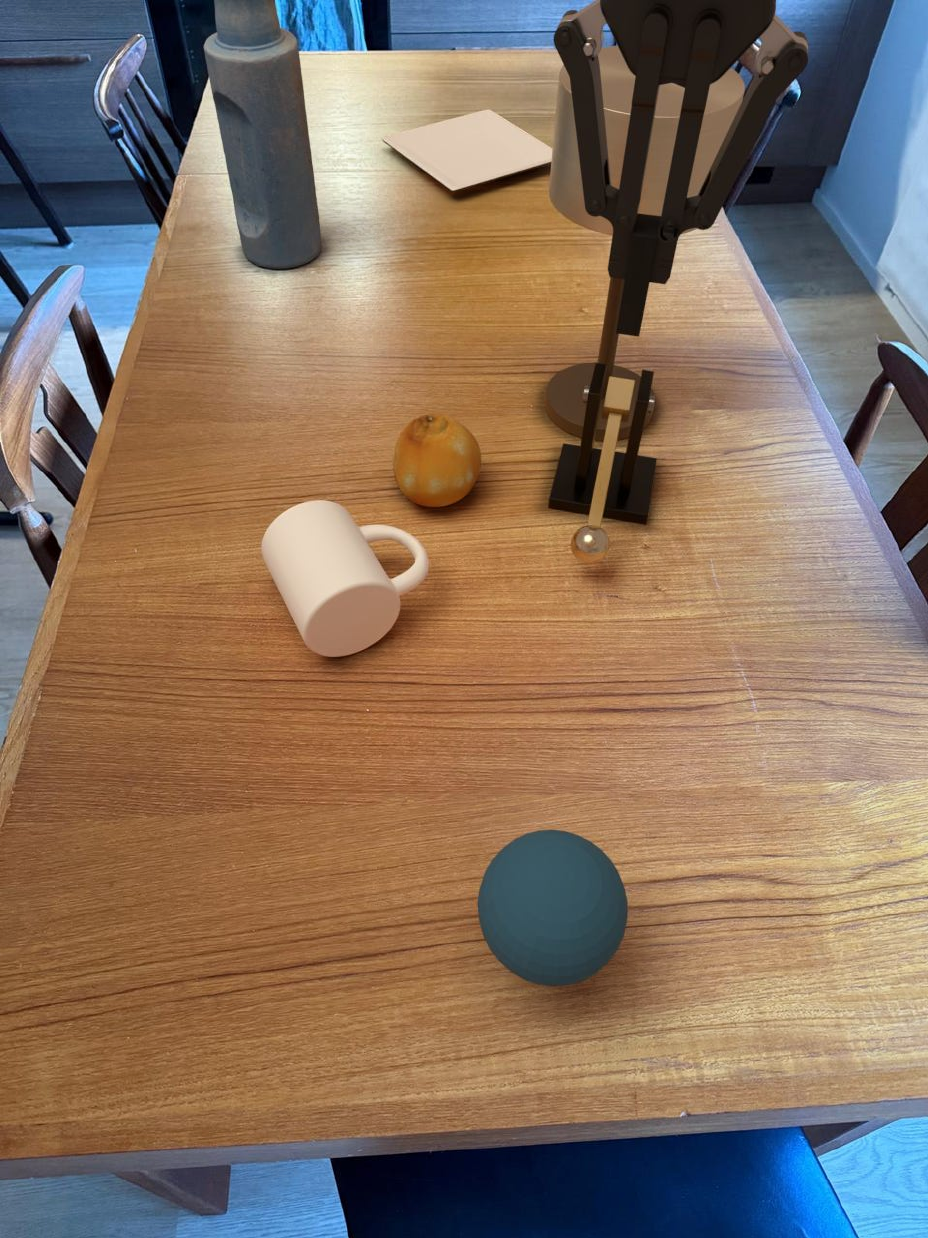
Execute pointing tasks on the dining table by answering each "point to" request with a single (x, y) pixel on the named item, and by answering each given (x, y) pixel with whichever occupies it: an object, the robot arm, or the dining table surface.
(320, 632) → the mug
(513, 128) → the plate
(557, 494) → the switch bracket
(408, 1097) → the dining table surface
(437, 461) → the fruit
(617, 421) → the lamp switch
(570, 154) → the lamp
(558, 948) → the dark teal ovoid
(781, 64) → the robot arm
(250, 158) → the bottle
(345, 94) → the dining table surface
